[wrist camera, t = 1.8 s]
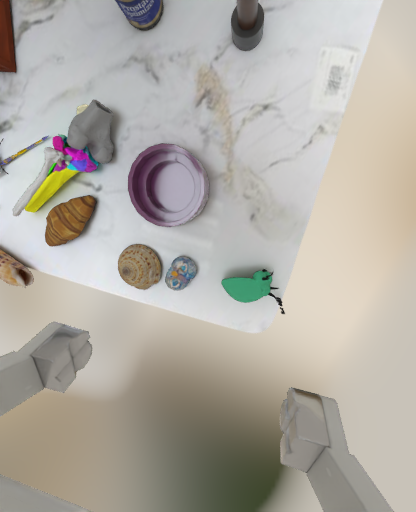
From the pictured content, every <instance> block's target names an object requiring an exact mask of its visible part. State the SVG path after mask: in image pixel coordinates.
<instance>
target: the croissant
mask: <svg viewBox="0 0 416 512" xmlns="http://www.w3.org/2000/svg"><path fill="white" fill-rule="evenodd" d="M95 204H96V200H95V198H93V197H92V196H90V195H89V196H83V197H78V198H74V199H70V200H69V201H68V202H66V203H61V204H59V205H57V206H56V207H54V208H53V209H52V210H51V211H50V212H49V214H48V216H47V218H46V219H47V226H46V232H45V240H46V243H47V244H48V245H49V246H58V245H62V244H66V243H67V241H69V240H73V239H74V238H76V237H78V236H79V235H80V233H81V232H82V230H83V228H84V226H85V224H86V222H87V221H88V220H89V218H90V217H91V215H92V212H93V210H94V208H95Z"/></svg>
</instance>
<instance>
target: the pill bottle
mask: <svg viewBox="0 0 416 512" xmlns="http://www.w3.org/2000/svg"><path fill="white" fill-rule="evenodd" d="M115 1H116V2H117V4H118V5H119V7H120V8H121V10H122V11H123V13H124V15H125V16H126V18H127V19H128V21H129V22H130V24H131V25H133V26H134V27H135V28H137V29H139V30H147V29H150V28H152V27H154V26H155V25H156V24H157V22H158V21H159V19H160V16H161V14H162V11H163V0H115Z"/></svg>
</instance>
